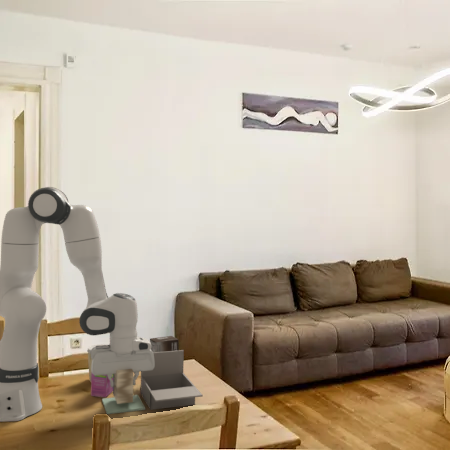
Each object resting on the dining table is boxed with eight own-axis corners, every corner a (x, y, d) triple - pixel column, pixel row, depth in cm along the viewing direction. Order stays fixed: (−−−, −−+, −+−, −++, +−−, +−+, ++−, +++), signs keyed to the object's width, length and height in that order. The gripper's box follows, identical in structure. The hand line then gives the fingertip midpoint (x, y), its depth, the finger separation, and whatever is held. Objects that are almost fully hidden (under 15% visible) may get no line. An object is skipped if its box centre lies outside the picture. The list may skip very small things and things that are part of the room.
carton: (155, 419, 166) (156, 374, 165) (140, 393, 188) (141, 353, 187) (202, 413, 171) (203, 369, 171) (182, 389, 193) (183, 350, 192)
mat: (106, 414, 169) (107, 412, 169) (102, 400, 181) (102, 398, 181) (145, 409, 174) (145, 407, 174) (137, 396, 185) (137, 394, 185)
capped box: (117, 403, 172) (117, 372, 171) (113, 394, 180) (113, 364, 180) (133, 402, 174) (133, 371, 173) (128, 392, 182) (128, 363, 182)
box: (106, 397, 183) (106, 363, 183) (90, 396, 184) (90, 362, 184) (118, 387, 193) (118, 354, 193) (103, 386, 195) (103, 353, 194)
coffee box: (171, 377, 205) (172, 335, 204) (179, 382, 200) (179, 339, 199) (149, 380, 201) (149, 338, 200) (155, 386, 195) (156, 342, 194)
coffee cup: (109, 384, 196) (110, 351, 196) (84, 383, 197) (84, 351, 196) (115, 375, 206) (115, 344, 205) (90, 375, 206) (91, 344, 205)
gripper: (91, 348, 170) (91, 392, 170) (156, 343, 177) (155, 385, 177) (89, 343, 176) (89, 385, 176) (152, 339, 182) (151, 379, 183)
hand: (123, 385), depth 177 cm, fingers closed on capped box, 5 cm apart
